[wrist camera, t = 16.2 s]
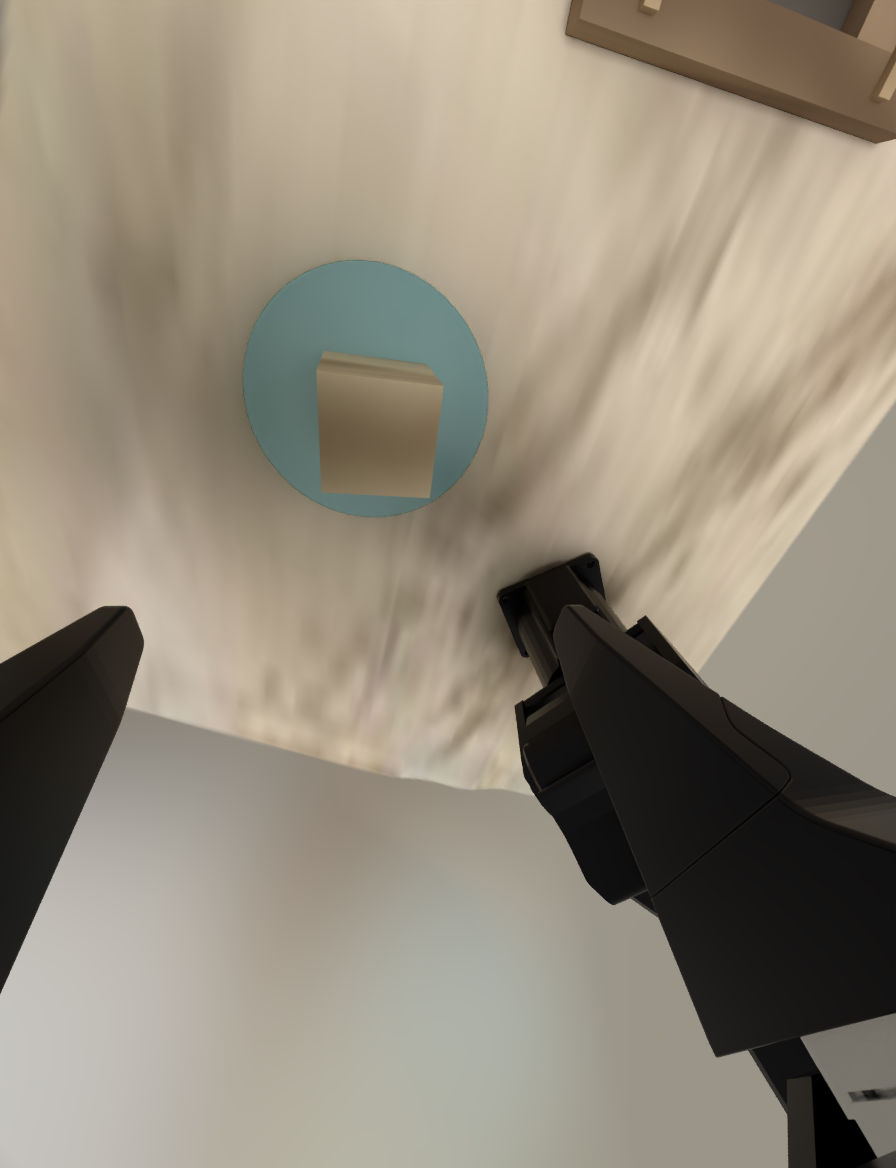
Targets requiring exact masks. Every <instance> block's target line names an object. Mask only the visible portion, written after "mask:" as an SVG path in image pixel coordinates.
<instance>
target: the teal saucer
mask: <svg viewBox="0 0 896 1168" xmlns="http://www.w3.org/2000/svg"><path fill="white" fill-rule="evenodd" d="M323 351H331V352H339V353H346V354H354V355H362V356H369V357H377V358H385V359H392V360H400V361H408V362H415V363H423V364H427V365H428V366H429V367H430V369H431V370H432V371H433V373H434V374H435V375H436V377H437V378H438V379H439V381H440V382H441V383H442V385H443V386H444V388H443V396H442V404H441V412H440V420H439V428H438V436H437V444H436V452H435V460H434V468H433V476H432V484H431V492H430V498H415V497H397V496H378V495H360V494H342V493H324V492H321V471H320V447H319V422H318V398H317V373H316V371H317V368H318V365H319V363H320V360H321V357H322V354H323ZM243 389H244V400H245V405H246V410H247V415H248V418H249V421H250V424H251V427H252V430H253V432H254V434H255V436H256V439H257V441H258V443H259V445H260V447H261V449H262V450H263V452H264V453H265V455H266V457H267V458H268V460H269V461H270V462H271V464H272V465H273V466H274V467H275V469H276V470H277V471H278V472H279V474H280V475H281V476H282V477H283V478H284V479H285V480H286V481H288V482H289V483H290V484H291V485H292V486H293V487H294V488H296V489H297V490H298V491H299V492H301V493H302V494H303V495H305V496H307V497H308V498H310V499H311V500H313V501H315V502H317V503H319V504H321V505H323V506H325V507H327V508H330V509H332V510H335V511H338V512H341V513H345V514H350V515H354V516H363V517H386V516H394V515H399V514H403V513H407V512H410V511H413V510H415V509H418V508H421V507H423V506H424V505H426V504H428V503H430V502H432V501H434V500H435V499H437V498H438V497H439V496H441V495H442V494H444V493H445V492H446V491H447V490H448V489H449V488H451V487H452V486H453V485H454V484H455V483H456V481H457V480H458V479H459V478H460V477H461V476H462V475H463V473H464V472H465V470H466V469H467V468H468V466H469V465H470V463H471V461H472V459H473V457H474V456H475V454H476V452H477V450H478V447H479V444H480V442H481V439H482V436H483V432H484V429H485V425H486V419H487V411H488V385H487V376H486V371H485V367H484V363H483V359H482V356H481V353H480V350H479V348H478V345H477V342H476V340H475V338H474V336H473V334H472V332H471V331H470V329H469V327H468V325H467V324H466V322H465V321H464V319H463V318H462V316H461V315H460V313H459V312H458V311H457V310H456V308H455V307H454V306H453V305H452V304H451V303H450V302H449V301H448V300H447V298H446V297H444V296H443V295H442V294H441V293H440V292H439V291H437V290H436V289H435V288H434V287H433V286H431V285H430V284H428V283H427V282H425V281H424V280H422V279H421V278H419V277H417V276H416V275H414V274H412V273H409V272H407V271H405V270H403V269H400V268H398V267H395V266H391V265H387V264H384V263H380V262H373V261H363V260H353V261H339V262H335V263H331V264H326V265H322V266H320V267H317V268H315V269H312V270H310V271H308V272H305V273H303V274H302V275H300V276H299V277H297V278H296V279H294V280H292V281H291V282H289V283H288V284H287V285H286V286H285V287H284V288H283V289H281V290H280V291H279V292H278V293H277V294H276V295H275V296H274V297H273V298H272V300H271V301H270V302H269V304H268V305H267V306H266V307H265V309H264V310H263V312H262V313H261V315H260V317H259V319H258V320H257V322H256V324H255V326H254V328H253V331H252V334H251V336H250V339H249V342H248V345H247V350H246V355H245V359H244V370H243Z"/></svg>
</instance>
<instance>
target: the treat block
mask: <svg viewBox="0 0 896 1168" xmlns="http://www.w3.org/2000/svg"><path fill="white" fill-rule="evenodd" d="M316 373H317V398H318V422H319V447H320V471H321V492H324V493H342V494H360V495H378V496H397V497H415V498H430V492H431V484H432V476H433V468H434V460H435V452H436V444H437V436H438V428H439V420H440V412H441V404H442V396H443V388H444V386H443V385H442V383H441V382H440V381H439V379H438V378H437V377H436V375H435V374H434V373H433V371H432V370H431V369H430V367H429V366H428V365H427V364H423V363H415V362H408V361H400V360H392V359H385V358H377V357H369V356H362V355H354V354H346V353H339V352H331V351H323V354H322V357H321V360H320V363H319V365H318V368H317V371H316Z"/></svg>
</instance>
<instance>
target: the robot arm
mask: <svg viewBox="0 0 896 1168" xmlns="http://www.w3.org/2000/svg"><path fill="white" fill-rule="evenodd" d="M590 561H591V563H589V564H588V562H590ZM507 596H508V597H507ZM504 597H507V598H506V599H503V598H504ZM497 599H498V601H499V604H500V606H501V608H502V611H503V613H504V616H505V618H506V620H507V623H508V625H509V627H510V630H511V632H512V634H513V637H514V639H515V642H516V644H517V646H518V649H519V651H520V653H521V655H522V657H530V659H531V662H532V664H533V666H534V668H535V670H536V673H537V675H538V677H539V679H540V681H541V684H542V686H543V688H542V689H541V690H540V691H538V692H537V693H535V694H534V695H532V696H531V697H529V698H528V699H526V700H525V701H523V700H522V701H521V702H519V703H518V704H516V705H515V713H516V721H517V729H518V737H519V745H520V753H521V761H522V766H523V774H524V777H525V779H526V781H527V782H528V784H529V785H530V788H531V790H532V792H533V793H534V794H535V796H536V797H537V799H538V800H539V802H540V803H541V805H542V806H543V807H544V808H545V809H546V811H547V812H548V813H549V814H550V815H552V816H553V818H554V819H555V821H556V823H557V824H558V826H559V828H560V829H561V831H562V833H563V834H564V836H565V838H566V839H567V842H568V844H569V846H570V848H571V849H572V852H573V854H574V856H575V858H576V860H577V862H578V864H579V866H580V868H581V871H582V873H583V875H584V877H585V879H586V881H587V882H588V884H589V885H590V886H591V887H592V888H593V889H594V890H595V891H596V892H597V893H599V894H600V895H601V896H602V897H603V898H604V899H605V900H606V901H607V902H608V903H610V904H612V905H616V904H618V903H621V902H623V901H625V900H627V899H630V898H631V899H633V900H634V901H635V902H637V903H638V904H640V905H641V906H642V907H644V908H645V909H647V910H648V911H650V912H651V913H652V914H654V915H655V916H657V917H658V918H659V920H660V922H661V925H662V927H663V930H664V932H665V935H666V937H667V940H668V942H669V945H670V947H671V950H672V952H673V955H674V957H675V960H676V962H677V965H678V967H679V969H680V972H681V975H682V977H683V980H684V982H685V984H686V987H687V989H688V992H689V994H690V997H691V999H692V1002H693V1004H694V1007H695V1009H696V1012H697V1014H698V1017H699V1019H700V1022H701V1024H702V1026H703V1029H704V1032H705V1034H706V1037H707V1039H708V1041H709V1044H710V1046H711V1048H712V1050H713V1052H714V1054H715V1056H716V1057H717V1058H718V1057H722V1056H726V1055H730V1054H733V1053H738V1052H742V1051H746V1050H748V1051H749V1052H750V1054H751V1056H752V1057H753V1059H754V1061H755V1062H756V1064H757V1066H758V1067H759V1069H760V1071H761V1072H762V1074H763V1075H764V1077H765V1079H766V1080H767V1082H768V1083H769V1085H770V1087H771V1089H772V1090H773V1092H774V1093H775V1095H776V1097H777V1098H778V1100H779V1102H780V1103H781V1105H782V1107H783V1108H784V1110H785V1112H786V1113H787V1116H788V1117H787V1118H788V1164H789V1165H788V1167H789V1168H896V797H894V796H892V795H889V794H887V793H885V792H883V791H880V790H878V789H876V788H874V787H873V786H871V785H869V784H867V783H865V782H863V781H862V780H860V779H858V778H857V777H855V776H853V775H851V774H850V773H848V772H846V771H845V770H843V769H841V768H839V767H837V766H836V765H834V764H832V763H831V762H829V761H827V760H826V759H824V758H822V757H820V756H819V755H817V754H815V753H813V752H812V751H810V750H808V749H807V748H805V747H803V746H802V745H800V744H798V743H796V742H795V741H793V740H791V739H790V738H788V737H786V736H785V735H783V734H781V733H779V732H778V731H776V730H774V729H773V728H771V727H769V726H768V725H766V724H764V723H763V722H761V721H760V720H758V719H757V718H755V717H753V716H752V715H750V714H748V713H747V712H745V711H744V710H742V709H741V708H739V707H737V706H736V705H735V704H733V703H732V702H730V701H728V700H727V699H725V698H724V697H720V696H719V694H718V693H716V692H715V691H713V690H711V689H710V688H709V687H708V686H707V685H706V683H705V682H704V681H703V680H702V679H701V678H700V677H699V675H698V674H697V673H696V672H695V671H694V669H693V668H692V667H691V666H690V665H689V664H688V662H687V661H686V660H685V659H684V658H683V657H682V655H681V654H680V653H679V652H678V651H677V650H676V649H675V647H674V646H673V645H672V644H671V643H670V642H669V641H668V640H667V638H666V637H665V636H664V635H663V634H662V633H661V632H660V631H659V630H658V628H657V627H656V626H655V625H654V624H653V623H652V622H651V621H650V619H649V618H648V617H647V616H646V615H645V616H644V617H643V618H641V619H640V620H638V621H637V622H638V623H637V624H636V625H634V626H633V627H631V628H630V629H628V630H627V629H626V627H625V626H624V625H623V623H622V622H621V621H620V619H619V618H618V617H617V615H616V614H615V613H614V612H613V610H612V609H611V608H610V606H609V605H608V604H607V602H606V599H605V594H604V588H603V583H602V577H601V572H600V566H599V561H598V559H597V558H596V557H595V556H594V555H593V554H588V555H585V556H583V557H580V558H578V559H576V560H573V561H571V562H568V563H566V564H564V565H561V566H559V567H556V568H554V569H552V570H549V571H547V572H545V573H542V574H540V575H537V576H535V577H533V578H530V579H528V580H525V581H523V582H521V583H518V584H516V585H514V586H511V587H509V588H506V589H504V590H502V591H500V592H499V593H498V595H497ZM143 647H144V639H143V635H142V633H141V630H140V628H139V625H138V623H137V620H136V618H135V615H134V613H133V611H132V609H131V608H129V607H127V606H103V607H100V608H98V609H96V610H95V611H93V612H91V613H89V614H87V615H86V616H84V617H82V618H80V619H79V620H77V621H75V622H73V623H71V624H70V625H68V626H66V627H64V628H63V629H61V630H59V631H57V632H56V633H54V634H52V635H50V636H48V637H47V638H45V639H43V640H41V641H40V642H38V643H36V644H34V645H32V646H31V647H29V648H27V649H25V650H24V651H22V652H20V653H18V654H17V655H15V656H13V657H11V658H9V659H8V660H6V661H4V662H2V663H1V664H0V993H1V991H2V989H3V987H4V984H5V982H6V980H7V978H8V975H9V973H10V971H11V969H12V966H13V964H14V962H15V960H16V957H17V955H18V953H19V951H20V948H21V946H22V944H23V941H24V939H25V937H26V935H27V933H28V930H29V928H30V926H31V924H32V921H33V919H34V917H35V915H36V912H37V910H38V908H39V906H40V903H41V901H42V899H43V897H44V894H45V892H46V890H47V888H48V885H49V883H50V881H51V879H52V876H53V874H54V872H55V870H56V867H57V865H58V863H59V861H60V858H61V856H62V854H63V852H64V849H65V847H66V845H67V843H68V840H69V838H70V836H71V834H72V831H73V829H74V827H75V825H76V822H77V820H78V818H79V816H80V813H81V811H82V809H83V807H84V804H85V802H86V800H87V798H88V795H89V793H90V791H91V789H92V786H93V784H94V782H95V779H96V777H97V775H98V773H99V771H100V768H101V766H102V764H103V762H104V759H105V757H106V755H107V753H108V750H109V748H110V746H111V744H112V741H113V739H114V737H115V735H116V732H117V730H118V728H119V725H120V723H121V720H122V717H123V714H124V711H125V708H126V705H127V701H128V698H129V695H130V692H131V688H132V685H133V682H134V678H135V675H136V672H137V668H138V665H139V662H140V658H141V655H142V652H143Z"/></svg>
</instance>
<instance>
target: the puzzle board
mask: <svg viewBox="0 0 896 1168" xmlns="http://www.w3.org/2000/svg"><path fill="white" fill-rule="evenodd" d="M566 34H567V35H570V36H572V37H575V38H578V39H581V40H584V41H587V42H590V43H592V44H595V45H598V46H601V47H604V48H607V49H610V50H612V51H615V52H618V53H621V54H624V55H627V56H629V57H632V58H635V59H638V60H641V61H644V62H647V63H649V64H652V65H655V66H658V67H661V68H664V69H667V70H669V71H672V72H675V73H678V74H681V75H684V76H686V77H689V78H692V79H695V80H698V81H701V82H704V83H706V84H709V85H712V86H715V87H718V88H721V89H724V90H726V91H729V92H732V93H735V94H738V95H741V96H743V97H746V98H749V99H752V100H755V101H758V102H761V103H763V104H766V105H769V106H772V107H775V108H778V109H781V110H783V111H786V112H789V113H792V114H795V115H798V116H800V117H803V118H806V119H809V120H812V121H815V122H818V123H820V124H823V125H826V126H829V127H832V128H835V129H838V130H840V131H843V132H846V133H849V134H852V135H855V136H857V137H860V138H863V139H866V140H869V141H872V142H875V143H881V142H885V141H889V140H893V139H896V0H572V4H571V9H570V14H569V19H568V24H567V29H566Z"/></svg>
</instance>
